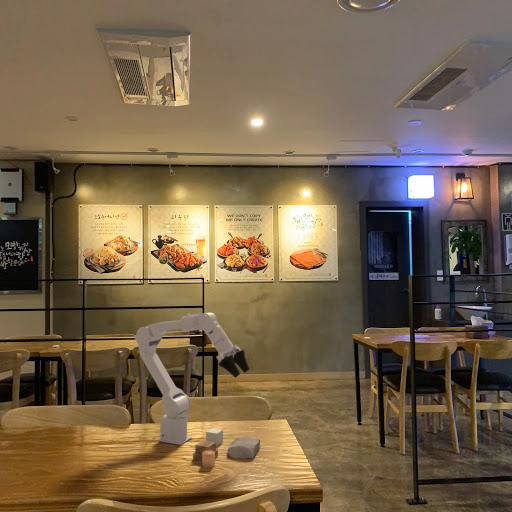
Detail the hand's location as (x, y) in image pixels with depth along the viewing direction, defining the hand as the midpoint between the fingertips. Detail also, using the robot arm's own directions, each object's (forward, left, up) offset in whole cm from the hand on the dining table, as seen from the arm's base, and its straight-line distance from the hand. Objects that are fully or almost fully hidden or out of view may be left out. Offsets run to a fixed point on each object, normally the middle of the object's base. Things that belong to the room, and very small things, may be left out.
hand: (242, 373), depth 156 cm
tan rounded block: (-4, -16, -26) cm, 31 cm away
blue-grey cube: (-12, +2, -26) cm, 29 cm away
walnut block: (-8, -11, -24) cm, 28 cm away
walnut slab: (-8, -11, -27) cm, 30 cm away
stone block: (+1, -1, -27) cm, 27 cm away
